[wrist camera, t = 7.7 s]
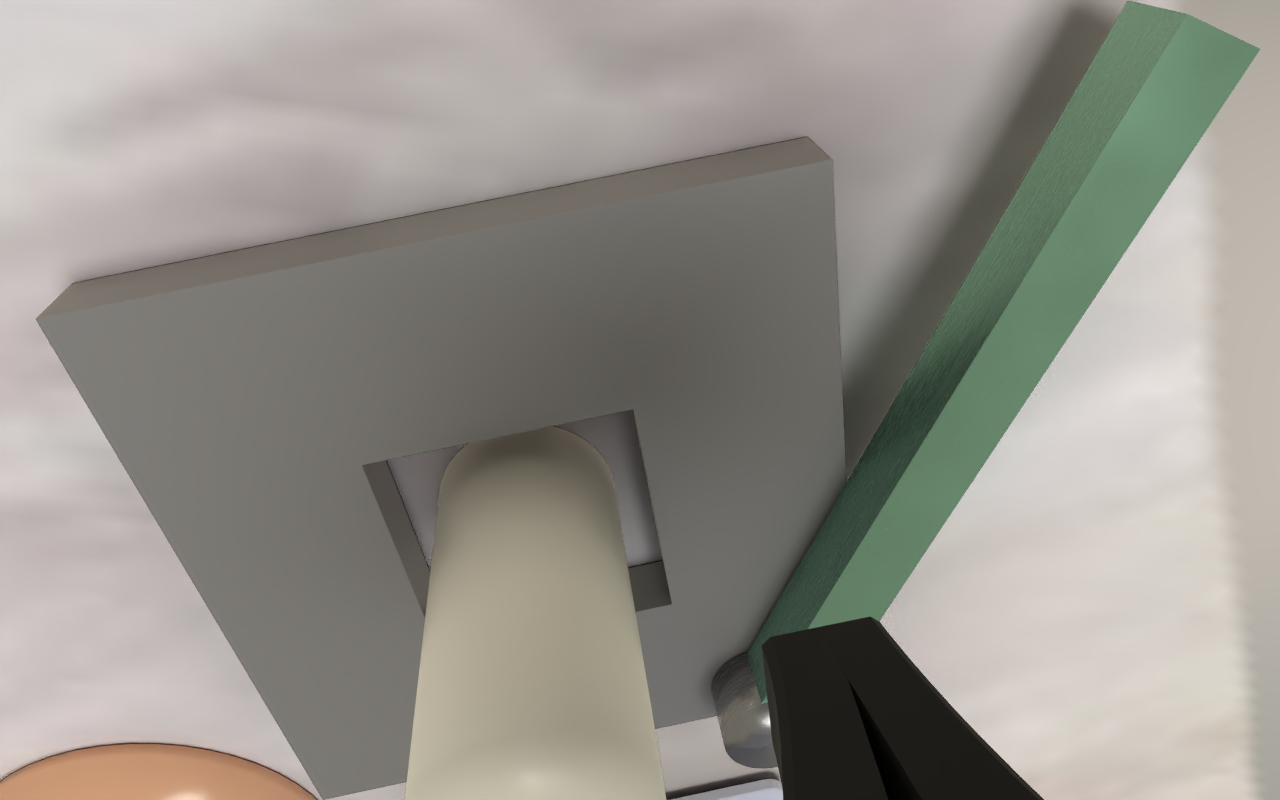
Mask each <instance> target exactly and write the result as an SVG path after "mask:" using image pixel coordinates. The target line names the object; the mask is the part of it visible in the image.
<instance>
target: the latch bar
mask: <svg viewBox="0 0 1280 800" xmlns="http://www.w3.org/2000/svg"><path fill="white" fill-rule="evenodd" d="M1259 50H1260V49H1259V48H1257V47H1255V46H1253V45H1251V44H1249V43H1247V42H1244V41H1242V40H1240V39H1238V38H1236V37H1234V36H1232V35H1230V34H1228V33H1226V32H1224V31H1222V30H1219V29H1217V28H1215V27H1213V26H1211V25H1209V24H1207V23H1205V22H1203V21H1201V20H1199V19H1197V18H1194V17H1192V16H1190V15H1188V14H1185V13H1180V12H1176V11H1172V10H1167V9H1163V8H1158V7H1154V6H1149V5H1145V4H1141V3H1136V2H1132V1H1127V3H1126V5H1125V6H1124V8H1123V10H1122V12H1121V13H1120V15H1119V17H1118V18H1117V20H1116V22H1115V24H1114V25H1113V27H1112V29H1111V30H1110V32H1109V34H1108V36H1107V37H1106V39H1105V41H1104V42H1103V44H1102V46H1101V48H1100V49H1099V51H1098V53H1097V54H1096V56H1095V58H1094V60H1093V61H1092V63H1091V65H1090V66H1089V68H1088V70H1087V72H1086V73H1085V75H1084V77H1083V78H1082V80H1081V82H1080V84H1079V85H1078V87H1077V89H1076V90H1075V92H1074V94H1073V96H1072V97H1071V99H1070V101H1069V102H1068V104H1067V106H1066V108H1065V109H1064V111H1063V113H1062V114H1061V116H1060V118H1059V120H1058V121H1057V123H1056V125H1055V126H1054V128H1053V130H1052V132H1051V133H1050V135H1049V137H1048V138H1047V140H1046V142H1045V144H1044V145H1043V147H1042V149H1041V150H1040V152H1039V154H1038V156H1037V157H1036V159H1035V161H1034V162H1033V164H1032V166H1031V168H1030V169H1029V171H1028V173H1027V174H1026V176H1025V178H1024V180H1023V181H1022V183H1021V185H1020V186H1019V188H1018V190H1017V192H1016V193H1015V195H1014V197H1013V198H1012V200H1011V202H1010V204H1009V205H1008V207H1007V209H1006V210H1005V212H1004V214H1003V216H1002V217H1001V219H1000V221H999V222H998V224H997V226H996V228H995V229H994V231H993V233H992V234H991V236H990V238H989V240H988V241H987V243H986V245H985V246H984V248H983V250H982V252H981V253H980V255H979V257H978V258H977V260H976V262H975V264H974V265H973V267H972V269H971V270H970V272H969V274H968V276H967V277H966V279H965V281H964V282H963V284H962V286H961V288H960V289H959V291H958V293H957V294H956V296H955V298H954V300H953V301H952V303H951V305H950V306H949V308H948V310H947V312H946V313H945V315H944V317H943V318H942V320H941V322H940V324H939V325H938V327H937V329H936V330H935V332H934V334H933V336H932V337H931V339H930V341H929V343H928V344H927V346H926V348H925V349H924V351H923V353H922V355H921V356H920V358H919V360H918V361H917V363H916V365H915V367H914V368H913V370H912V372H911V373H910V375H909V377H908V379H907V380H906V382H905V384H904V385H903V387H902V389H901V391H900V392H899V394H898V396H897V397H896V399H895V401H894V403H893V404H892V406H891V408H890V409H889V411H888V413H887V415H886V416H885V418H884V420H883V421H882V423H881V425H880V427H879V428H878V430H877V432H876V433H875V435H874V437H873V439H872V440H871V442H870V444H869V445H868V447H867V449H866V451H865V452H864V454H863V456H862V457H861V459H860V461H859V463H858V464H857V466H856V468H855V469H854V471H853V473H852V475H851V476H850V478H849V480H848V481H847V483H846V485H845V487H844V488H843V490H842V492H841V493H840V495H839V497H838V499H837V500H836V502H835V504H834V505H833V507H832V509H831V511H830V512H829V514H828V516H827V517H826V519H825V521H824V523H823V524H822V526H821V528H820V529H819V531H818V533H817V535H816V536H815V538H814V540H813V541H812V543H811V545H810V547H809V548H808V550H807V552H806V553H805V555H804V557H803V559H802V560H801V562H800V564H799V565H798V567H797V569H796V571H795V572H794V574H793V576H792V577H791V579H790V581H789V583H788V584H787V586H786V588H785V589H784V591H783V593H782V595H781V596H780V598H779V600H778V601H777V603H776V605H775V607H774V608H773V610H772V612H771V613H770V615H769V617H768V619H767V620H766V622H765V624H764V625H763V627H762V629H761V631H760V632H759V634H758V636H757V637H756V639H755V641H754V643H753V644H752V646H751V648H750V649H749V651H748V652H746V653H743V654H741V655H738V656H736V657H734V658H733V659H731V660H730V661H728V662H727V663H725V664H724V665H723V666H722V667H721V668H720V669H719V671H718V672H717V673H716V675H715V677H714V679H713V682H712V687H711V690H712V696H713V700H714V704H715V708H716V712H717V716H718V721H719V725H720V729H721V733H722V737H723V741H724V745H725V749H726V752H727V754H728V755H729V756H730V757H731V758H732V759H733V760H734V761H735V762H737V763H739V764H741V765H744V766H747V767H752V768H773V767H778V764H777V759H776V755H775V751H774V747H773V743H772V735H771V726H770V717H769V708H768V700H767V691H766V682H765V673H764V664H763V655H762V645H763V644H764V643H765V642H766V641H767V640H768V639H769V638H770V637H773V636H777V635H782V634H787V633H792V632H797V631H802V630H807V629H811V628H816V627H821V626H826V625H831V624H836V623H841V622H845V621H850V620H855V619H860V618H865V617H870V616H871V617H872V618H874V619H876V620H877V621H880V619H881V618H882V616H883V615H884V613H885V612H886V610H887V609H888V607H889V606H890V604H891V603H892V601H893V600H894V598H895V597H896V595H897V594H898V592H899V591H900V589H901V588H902V586H903V585H904V583H905V582H906V580H907V579H908V577H909V576H910V574H911V573H912V571H913V570H914V568H915V567H916V565H917V564H918V562H919V561H920V559H921V558H922V556H923V555H924V553H925V552H926V550H927V549H928V547H929V546H930V544H931V543H932V541H933V540H934V538H935V537H936V535H937V534H938V532H939V531H940V529H941V528H942V526H943V525H944V523H945V522H946V520H947V519H948V517H949V516H950V514H951V513H952V511H953V510H954V508H955V507H956V505H957V504H958V502H959V501H960V499H961V498H962V496H963V495H964V493H965V492H966V490H967V489H968V487H969V486H970V484H971V483H972V481H973V480H974V478H975V477H976V475H977V474H978V472H979V471H980V469H981V468H982V466H983V465H984V463H985V462H986V460H987V459H988V457H989V456H990V454H991V453H992V451H993V450H994V448H995V447H996V445H997V444H998V442H999V441H1000V439H1001V438H1002V436H1003V435H1004V433H1005V432H1006V430H1007V429H1008V427H1009V426H1010V424H1011V423H1012V421H1013V420H1014V418H1015V417H1016V415H1017V414H1018V412H1019V411H1020V409H1021V408H1022V406H1023V405H1024V403H1025V402H1026V400H1027V399H1028V397H1029V396H1030V394H1031V393H1032V391H1033V390H1034V388H1035V387H1036V385H1037V384H1038V382H1039V381H1040V379H1041V378H1042V376H1043V375H1044V373H1045V372H1046V370H1047V369H1048V367H1049V366H1050V364H1051V363H1052V361H1053V360H1054V358H1055V357H1056V355H1057V354H1058V352H1059V351H1060V349H1061V348H1062V346H1063V345H1064V343H1065V342H1066V340H1067V339H1068V337H1069V336H1070V334H1071V333H1072V331H1073V330H1074V328H1075V327H1076V325H1077V324H1078V322H1079V321H1080V319H1081V318H1082V316H1083V315H1084V313H1085V312H1086V310H1087V309H1088V307H1089V306H1090V304H1091V303H1092V301H1093V300H1094V298H1095V297H1096V295H1097V294H1098V292H1099V291H1100V289H1101V288H1102V286H1103V285H1104V283H1105V281H1106V280H1107V278H1108V277H1109V275H1110V274H1111V272H1112V271H1113V269H1114V268H1115V266H1116V265H1117V263H1118V262H1119V260H1120V259H1121V257H1122V256H1123V254H1124V253H1125V251H1126V250H1127V248H1128V247H1129V245H1130V244H1131V242H1132V241H1133V239H1134V238H1135V236H1136V235H1137V233H1138V232H1139V230H1140V229H1141V227H1142V226H1143V224H1144V223H1145V221H1146V220H1147V218H1148V217H1149V215H1150V214H1151V212H1152V211H1153V209H1154V208H1155V206H1156V205H1157V203H1158V202H1159V200H1160V199H1161V197H1162V196H1163V194H1164V193H1165V191H1166V190H1167V188H1168V187H1169V185H1170V184H1171V182H1172V181H1173V179H1174V178H1175V176H1176V175H1177V173H1178V172H1179V170H1180V169H1181V167H1182V166H1183V164H1184V163H1185V161H1186V160H1187V158H1188V157H1189V155H1190V154H1191V152H1192V151H1193V149H1194V148H1195V146H1196V145H1197V143H1198V142H1199V140H1200V139H1201V137H1202V136H1203V134H1204V133H1205V131H1206V130H1207V128H1208V127H1209V125H1210V124H1211V122H1212V121H1213V119H1214V118H1215V116H1216V115H1217V113H1218V112H1219V110H1220V109H1221V107H1222V106H1223V104H1224V103H1225V101H1226V100H1227V98H1228V97H1229V95H1230V94H1231V92H1232V91H1233V89H1234V88H1235V86H1236V85H1237V83H1238V82H1239V80H1240V79H1241V77H1242V76H1243V74H1244V73H1245V71H1246V69H1247V68H1248V67H1249V65H1250V64H1251V62H1252V61H1253V59H1254V58H1255V56H1256V55H1257V53H1258V52H1259Z"/></svg>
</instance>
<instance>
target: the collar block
mask: <svg viewBox="0 0 1280 800" xmlns="http://www.w3.org/2000/svg"><path fill="white" fill-rule="evenodd" d="M36 321H37V322H38V324H39V326H40V327H41V329H42V331H43V332H44V334H45V336H46V337H47V339H48V341H49V342H50V344H51V346H52V347H53V349H54V351H55V352H56V354H57V356H58V357H59V359H60V361H61V362H62V364H63V366H64V367H65V369H66V371H67V373H68V374H69V376H70V378H71V379H72V381H73V383H74V384H75V386H76V388H77V389H78V391H79V393H80V394H81V396H82V398H83V399H84V401H85V403H86V404H87V406H88V408H89V409H90V411H91V413H92V414H93V416H94V418H95V419H96V421H97V423H98V424H99V426H100V428H101V429H102V431H103V433H104V434H105V436H106V438H107V439H108V441H109V443H110V444H111V446H112V448H113V449H114V451H115V453H116V454H117V456H118V458H119V460H120V461H121V463H122V465H123V466H124V468H125V470H126V471H127V473H128V475H129V476H130V478H131V480H132V481H133V483H134V485H135V486H136V488H137V490H138V491H139V493H140V495H141V496H142V498H143V500H144V501H145V503H146V505H147V506H148V508H149V510H150V511H151V513H152V515H153V516H154V518H155V520H156V521H157V523H158V525H159V526H160V528H161V530H162V531H163V533H164V535H165V536H166V538H167V540H168V542H169V543H170V545H171V547H172V548H173V550H174V552H175V553H176V555H177V557H178V558H179V560H180V562H181V563H182V565H183V567H184V568H185V570H186V572H187V573H188V575H189V577H190V578H191V580H192V582H193V583H194V585H195V587H196V588H197V590H198V592H199V593H200V595H201V597H202V598H203V600H204V602H205V603H206V605H207V607H208V608H209V610H210V612H211V613H212V615H213V617H214V618H215V620H216V622H217V623H218V625H219V627H220V629H221V630H222V632H223V634H224V635H225V637H226V639H227V640H228V642H229V644H230V645H231V647H232V649H233V650H234V652H235V654H236V655H237V657H238V659H239V660H240V662H241V664H242V665H243V667H244V669H245V670H246V672H247V674H248V675H249V677H250V679H251V680H252V682H253V684H254V685H255V687H256V689H257V690H258V692H259V694H260V695H261V697H262V699H263V700H264V702H265V704H266V705H267V707H268V709H269V711H270V712H271V714H272V716H273V717H274V719H275V721H276V722H277V724H278V726H279V727H280V729H281V731H282V732H283V734H284V736H285V737H286V739H287V741H288V742H289V744H290V746H291V747H292V749H293V751H294V752H295V754H296V756H297V757H298V759H299V761H300V762H301V764H302V766H303V767H304V769H305V771H306V772H307V774H308V776H309V777H310V779H311V781H312V782H313V784H314V786H315V787H316V789H317V791H318V793H319V794H320V796H321V798H322V799H323V800H324V799H329V798H334V797H338V796H343V795H348V794H352V793H357V792H362V791H367V790H371V789H376V788H381V787H385V786H390V785H395V784H399V783H404V782H407V775H408V766H409V757H410V748H411V739H412V730H413V721H414V712H415V703H416V695H417V686H418V677H419V668H420V659H421V650H422V641H423V632H424V623H425V615H426V606H427V597H428V588H429V579H430V571H429V568H428V566H427V563H426V560H425V558H424V555H423V553H422V550H421V548H420V545H419V543H418V540H417V538H416V535H415V533H414V530H413V527H412V525H411V522H410V520H409V517H408V515H407V512H406V510H405V507H404V505H403V502H402V500H401V497H400V494H399V492H398V489H397V487H396V484H395V482H394V479H393V477H392V474H391V472H390V469H389V467H388V464H387V462H386V460H389V459H394V458H399V457H404V456H409V455H414V454H419V453H423V452H428V451H433V450H438V449H443V448H448V447H453V446H457V445H462V444H467V443H472V442H477V441H482V440H487V439H492V438H496V437H501V436H506V435H511V434H516V433H521V432H526V431H531V430H535V429H540V428H545V427H550V426H555V425H560V424H565V423H570V422H574V421H579V420H584V419H589V418H594V417H599V416H604V415H609V414H613V413H618V412H623V411H628V410H633V414H634V419H635V424H636V429H637V434H638V439H639V444H640V449H641V454H642V459H643V464H644V469H645V474H646V479H647V484H648V489H649V495H650V500H651V505H652V510H653V515H654V520H655V525H656V530H657V535H658V540H659V545H660V550H661V555H662V560H663V561H660V562H655V563H650V564H646V565H641V566H636V567H631V568H628V571H629V577H630V583H631V589H632V595H633V601H634V607H635V613H636V619H637V625H638V631H639V637H640V643H641V649H642V655H643V661H644V667H645V673H646V679H647V685H648V691H649V697H650V703H651V709H652V715H653V721H654V727H655V729H657V728H662V727H667V726H672V725H676V724H681V723H686V722H690V721H695V720H700V719H704V718H709V717H714V716H717V712H716V708H715V704H714V700H713V696H712V690H711V687H712V682H713V679H714V677H715V675H716V673H717V672H718V671H719V669H720V668H721V667H722V666H723V665H724V664H725V663H727V662H728V661H730V660H731V659H733V658H734V657H736V656H738V655H741V654H743V653H746V652H748V651H749V649H750V648H751V646H752V644H753V643H754V641H755V639H756V637H757V636H758V634H759V632H760V631H761V629H762V627H763V625H764V624H765V622H766V620H767V619H768V617H769V615H770V613H771V612H772V610H773V608H774V607H775V605H776V603H777V601H778V600H779V598H780V596H781V595H782V593H783V591H784V589H785V588H786V586H787V584H788V583H789V581H790V579H791V577H792V576H793V574H794V572H795V571H796V569H797V567H798V565H799V564H800V562H801V560H802V559H803V557H804V555H805V553H806V552H807V550H808V548H809V547H810V545H811V543H812V541H813V540H814V538H815V536H816V535H817V533H818V531H819V529H820V528H821V526H822V524H823V523H824V521H825V519H826V517H827V516H828V514H829V512H830V511H831V509H832V507H833V505H834V504H835V502H836V500H837V499H838V497H839V495H840V493H841V492H842V490H843V488H844V487H845V485H846V463H845V440H844V417H843V394H842V370H841V347H840V324H839V301H838V278H837V254H836V231H835V208H834V185H833V161H832V159H831V158H830V157H829V156H828V155H827V154H826V153H825V152H824V151H823V150H822V149H820V148H819V147H818V146H817V145H816V144H815V143H814V142H813V141H812V140H811V139H810V138H809V137H804V138H799V139H794V140H789V141H784V142H779V143H774V144H769V145H764V146H759V147H754V148H749V149H744V150H739V151H734V152H729V153H724V154H719V155H714V156H709V157H704V158H699V159H694V160H689V161H684V162H679V163H674V164H669V165H664V166H659V167H654V168H649V169H644V170H639V171H634V172H629V173H624V174H619V175H614V176H609V177H604V178H599V179H594V180H589V181H584V182H578V183H573V184H568V185H563V186H558V187H553V188H548V189H543V190H538V191H533V192H528V193H523V194H518V195H513V196H508V197H503V198H498V199H493V200H488V201H483V202H478V203H473V204H468V205H463V206H458V207H453V208H448V209H443V210H438V211H433V212H428V213H423V214H418V215H413V216H408V217H403V218H398V219H393V220H388V221H383V222H378V223H373V224H368V225H363V226H358V227H353V228H348V229H343V230H338V231H333V232H328V233H323V234H318V235H313V236H308V237H303V238H298V239H293V240H288V241H283V242H278V243H273V244H268V245H263V246H257V247H252V248H247V249H242V250H237V251H232V252H227V253H222V254H217V255H212V256H207V257H202V258H197V259H192V260H187V261H182V262H177V263H172V264H167V265H162V266H157V267H152V268H147V269H142V270H137V271H132V272H127V273H122V274H117V275H112V276H107V277H102V278H97V279H92V280H87V281H82V282H77V283H72V284H71V285H70V286H69V287H68V288H67V289H66V290H65V291H64V292H63V293H62V294H61V295H60V296H59V297H58V298H57V299H56V300H55V301H54V302H53V303H52V304H51V305H50V306H48V307H47V308H46V309H45V310H44V311H43V312H42V313H41V314H40V315H39V316H38V317H37V318H36Z"/></svg>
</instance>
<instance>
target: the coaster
mask: <svg viewBox="0 0 1280 800" xmlns="http://www.w3.org/2000/svg"><path fill="white" fill-rule="evenodd" d="M0 800H316V799H315V798H314V797H313V796H312V795H311V794H309V793H308V792H307V791H305V790H304V789H303V788H301V787H300V786H299V785H297V784H296V783H294V782H292V781H291V780H289V779H287V778H285V777H284V776H282V775H280V774H278V773H276V772H274V771H272V770H269V769H267V768H265V767H263V766H260V765H258V764H255V763H252V762H249V761H246V760H243V759H240V758H237V757H234V756H230V755H226V754H222V753H218V752H214V751H210V750H204V749H197V748H191V747H185V746H174V745H162V744H123V745H110V746H100V747H93V748H87V749H81V750H75V751H72V752H68V753H64V754H60V755H56V756H52V757H49V758H47V759H44V760H41V761H39V762H36V763H33V764H31V765H28V766H26V767H24V768H22V769H20V770H18V771H17V772H15V773H13V774H11V775H9V776H8V777H6V778H5V779H3V780H2V781H0Z"/></svg>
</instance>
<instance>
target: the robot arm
mask: <svg viewBox="0 0 1280 800" xmlns="http://www.w3.org/2000/svg"><path fill="white" fill-rule="evenodd" d="M762 655H763V664H764V673H765V682H766V691H767V700H768V708H769V717H770V726H771V735H772V743H773V747H774V751H775V755H776V759H777V764H778V768H779V773H780V778H781V782H779V781H778V780H775V779H763V780H759V781H754V782H749V783H745V784H740V785H735V786H731V787H726V788H722V789H717V790H712V791H708V792H703V793H698V794H694V795H689V796H684V797H680V798H675V799H670V800H1044V799H1043V798H1042V797H1041V796H1040V795H1039V794H1038V793H1037V792H1036V791H1035V790H1033V789H1032V788H1031V787H1030V786H1029V785H1028V784H1027V783H1026V782H1025V781H1024V780H1023V779H1022V778H1021V777H1020V776H1019V775H1018V774H1017V773H1016V772H1015V771H1014V770H1013V769H1012V768H1011V767H1010V766H1009V765H1008V764H1007V763H1006V762H1005V761H1004V760H1003V759H1002V758H1001V757H1000V756H999V755H998V754H997V753H996V752H995V751H994V750H993V749H992V748H991V747H990V746H989V745H988V744H987V743H986V742H985V741H984V740H983V739H982V738H981V737H980V736H979V735H978V734H977V733H976V732H975V731H974V729H973V728H972V727H971V726H970V725H969V724H968V723H967V722H966V721H965V720H964V719H963V718H962V717H961V716H960V715H959V714H958V713H957V711H956V710H955V709H954V708H953V707H952V706H951V705H950V704H949V703H948V702H947V701H946V699H945V698H944V697H943V696H942V695H941V694H940V693H939V692H938V691H937V689H936V688H935V687H934V686H933V685H932V684H931V683H930V682H929V681H928V679H927V678H926V677H925V676H924V675H923V674H922V673H921V671H920V670H919V669H918V668H917V667H916V666H915V665H914V663H913V662H912V661H911V660H910V659H909V658H908V656H907V655H906V654H905V653H904V652H903V650H902V649H901V648H900V647H899V646H898V644H897V643H896V642H895V641H894V639H893V638H892V637H891V636H890V635H889V633H888V632H887V631H886V629H885V628H884V627H883V626H882V624H881V623H880V622H879V621H877V620H876V619H874V618H872V617H871V616H870V617H865V618H860V619H855V620H850V621H845V622H841V623H836V624H831V625H826V626H821V627H816V628H811V629H807V630H802V631H797V632H792V633H787V634H782V635H777V636H773V637H770V638H769V639H768V640H767V641H766V642H765V643H764V644H763V645H762Z"/></svg>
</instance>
